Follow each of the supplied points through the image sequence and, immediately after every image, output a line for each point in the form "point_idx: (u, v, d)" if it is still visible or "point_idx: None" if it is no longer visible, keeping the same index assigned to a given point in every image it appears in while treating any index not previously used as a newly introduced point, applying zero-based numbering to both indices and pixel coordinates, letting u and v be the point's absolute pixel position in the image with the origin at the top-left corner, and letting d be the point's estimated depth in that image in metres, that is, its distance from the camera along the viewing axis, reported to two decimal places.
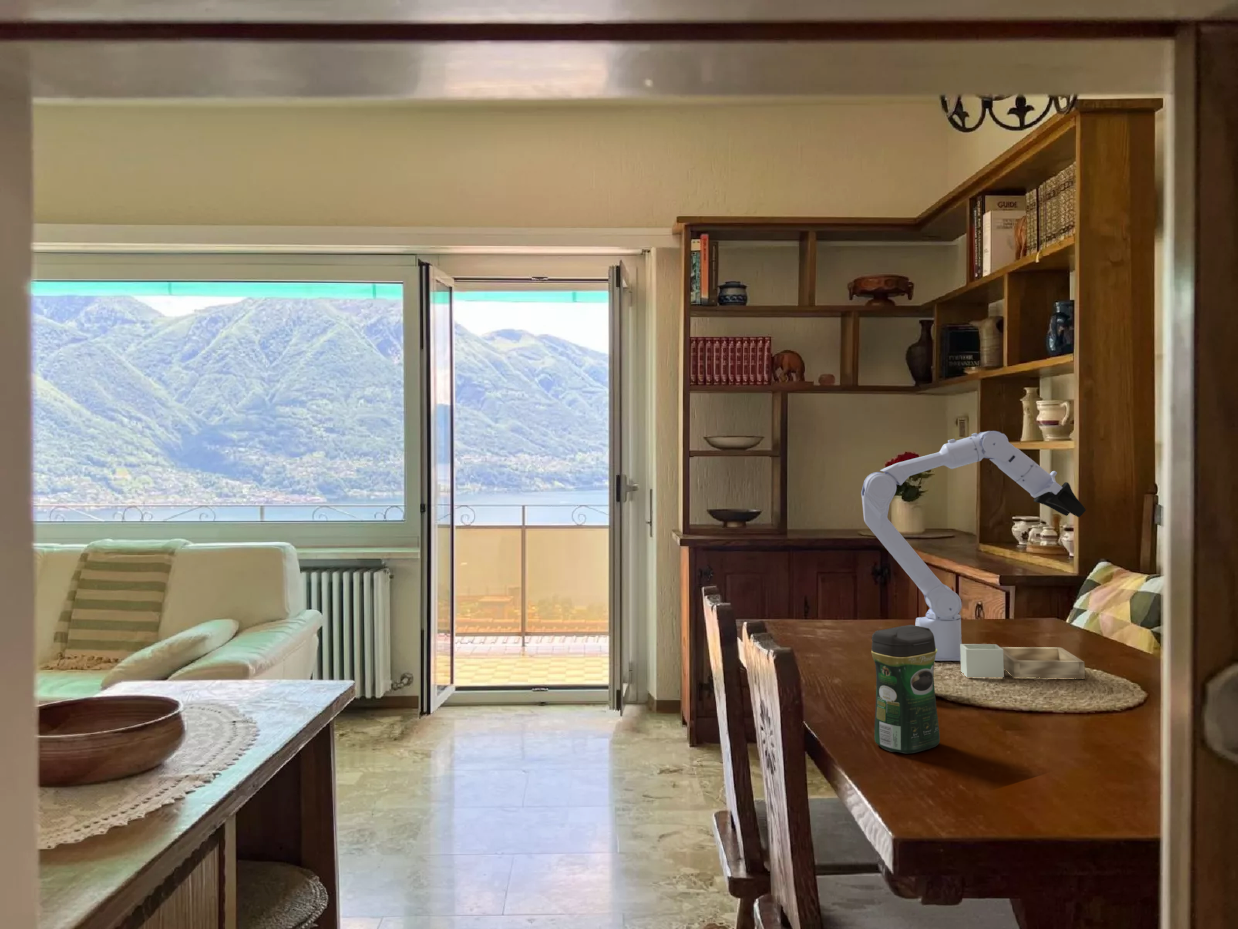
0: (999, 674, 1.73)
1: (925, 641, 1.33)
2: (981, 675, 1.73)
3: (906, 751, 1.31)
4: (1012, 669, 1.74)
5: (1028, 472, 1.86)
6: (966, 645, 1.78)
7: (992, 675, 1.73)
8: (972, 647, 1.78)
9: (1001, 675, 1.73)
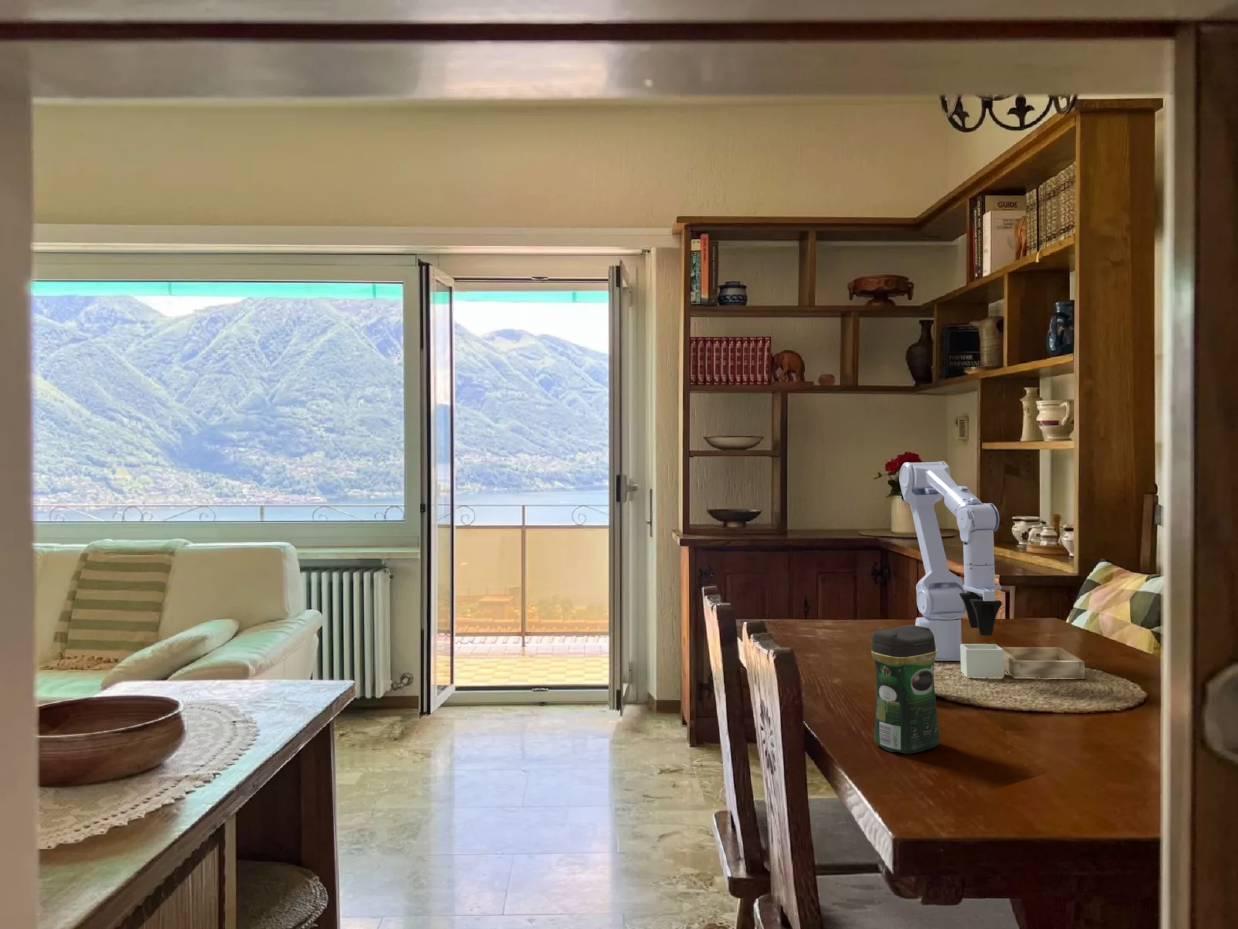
0: (999, 674, 1.73)
1: (925, 641, 1.33)
2: (981, 675, 1.73)
3: (906, 751, 1.31)
4: (1012, 669, 1.74)
5: (981, 566, 1.73)
6: (966, 645, 1.78)
7: (992, 675, 1.73)
8: (972, 647, 1.78)
9: (1001, 675, 1.73)
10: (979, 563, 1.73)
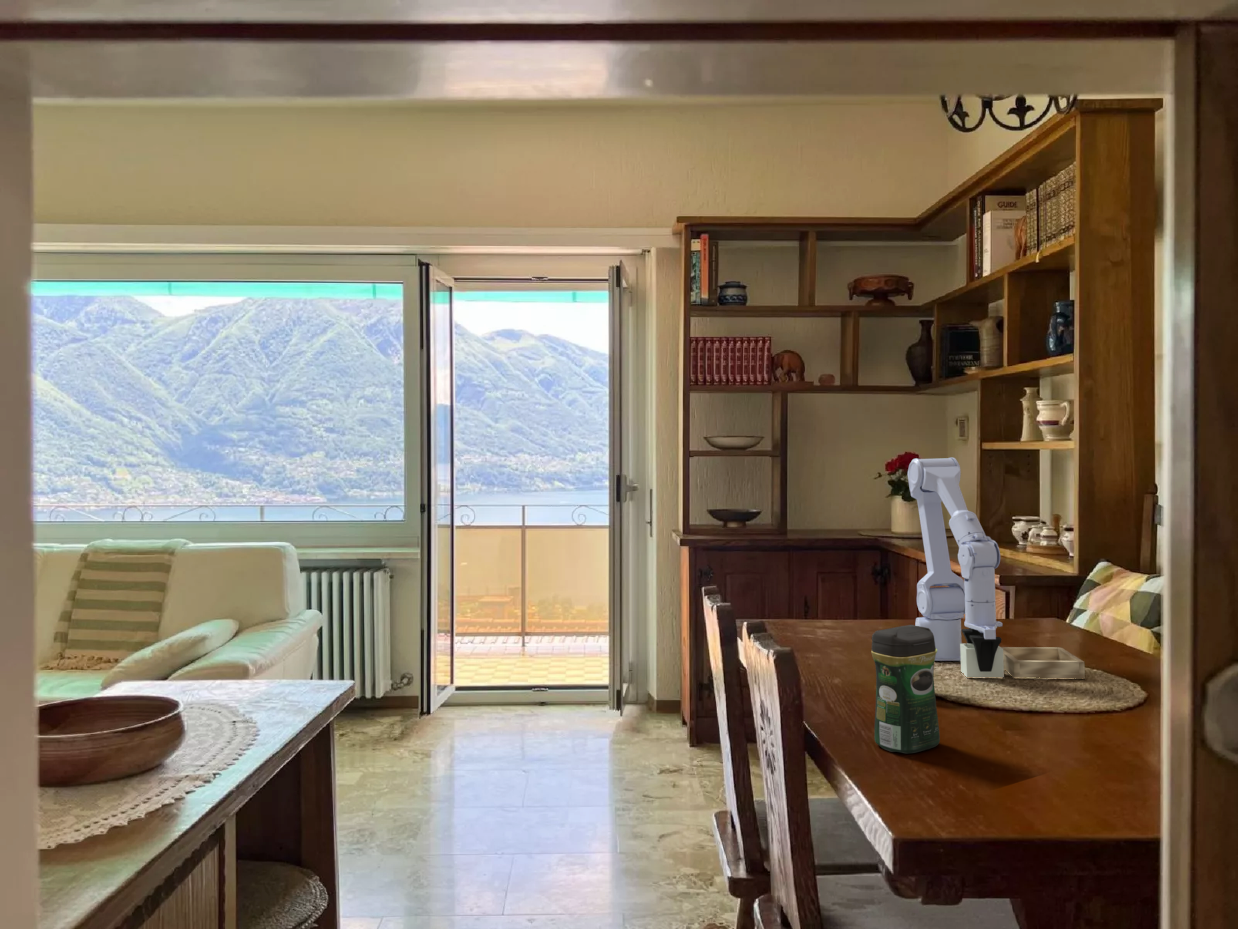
0: (999, 673, 1.73)
1: (925, 641, 1.33)
2: (981, 674, 1.73)
3: (906, 751, 1.31)
4: (1012, 669, 1.74)
5: (982, 603, 1.73)
6: (966, 644, 1.78)
7: (992, 674, 1.73)
8: (972, 646, 1.78)
9: (1001, 674, 1.73)
10: (980, 600, 1.73)
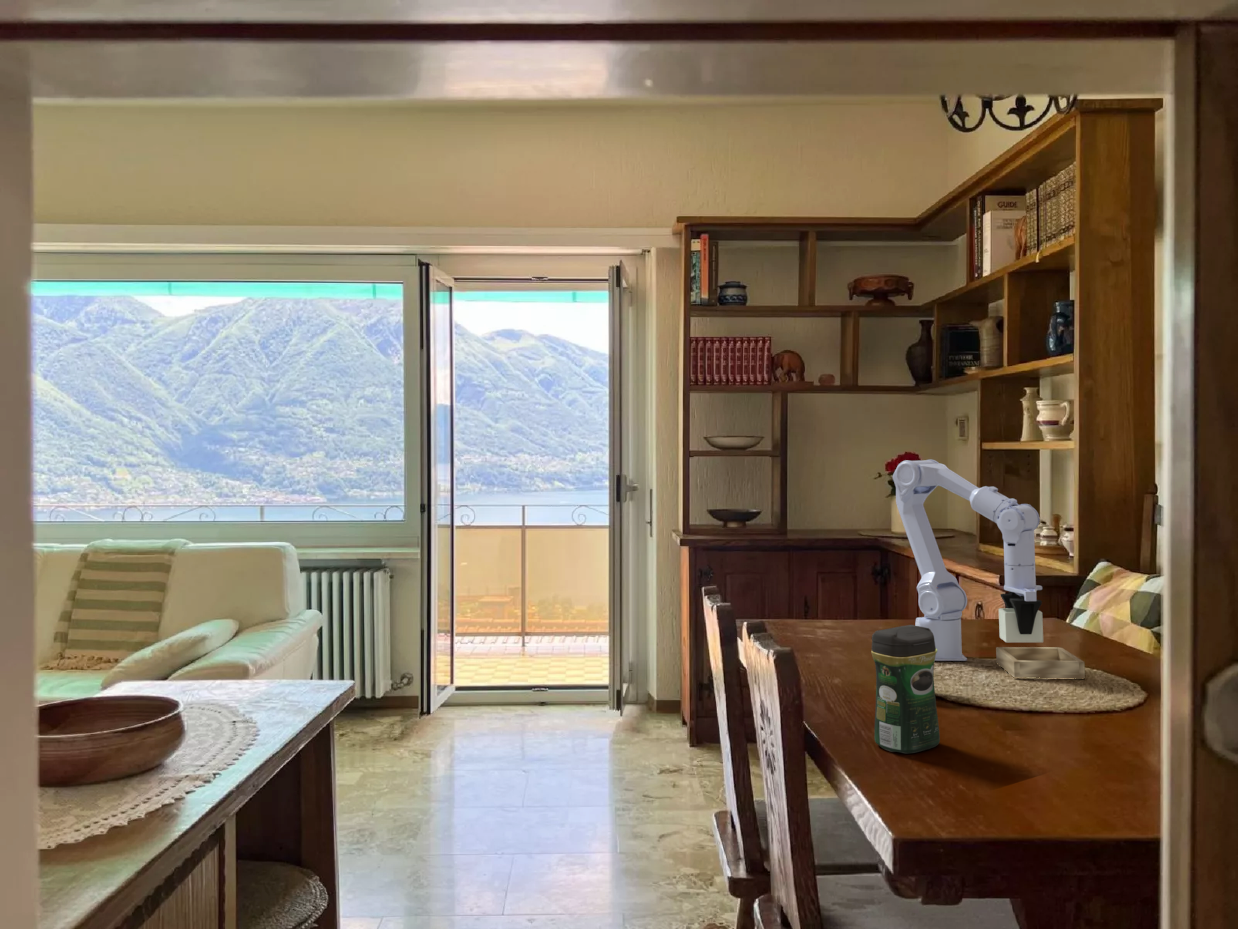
0: (1038, 637, 1.74)
1: (925, 641, 1.33)
2: (1020, 638, 1.75)
3: (906, 751, 1.31)
4: (1012, 669, 1.74)
5: (1022, 566, 1.74)
6: (1004, 609, 1.79)
7: (1031, 638, 1.74)
8: (1010, 611, 1.79)
9: (1040, 638, 1.74)
10: (1028, 563, 1.74)
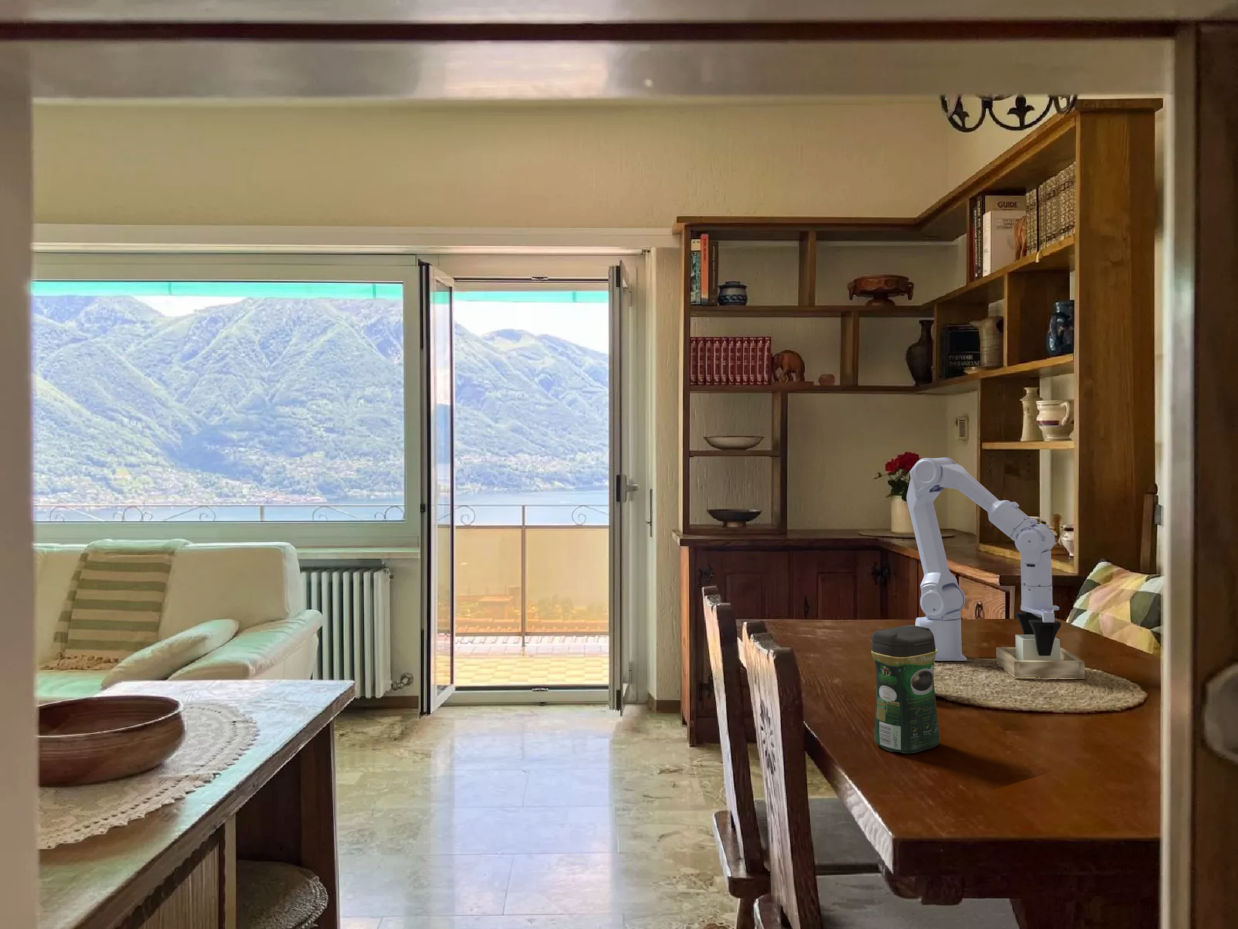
0: None
1: (925, 641, 1.33)
2: None
3: (906, 751, 1.31)
4: (1012, 669, 1.74)
5: (1040, 587, 1.75)
6: (1021, 636, 1.80)
7: None
8: (1027, 637, 1.80)
9: None
10: (1047, 584, 1.75)
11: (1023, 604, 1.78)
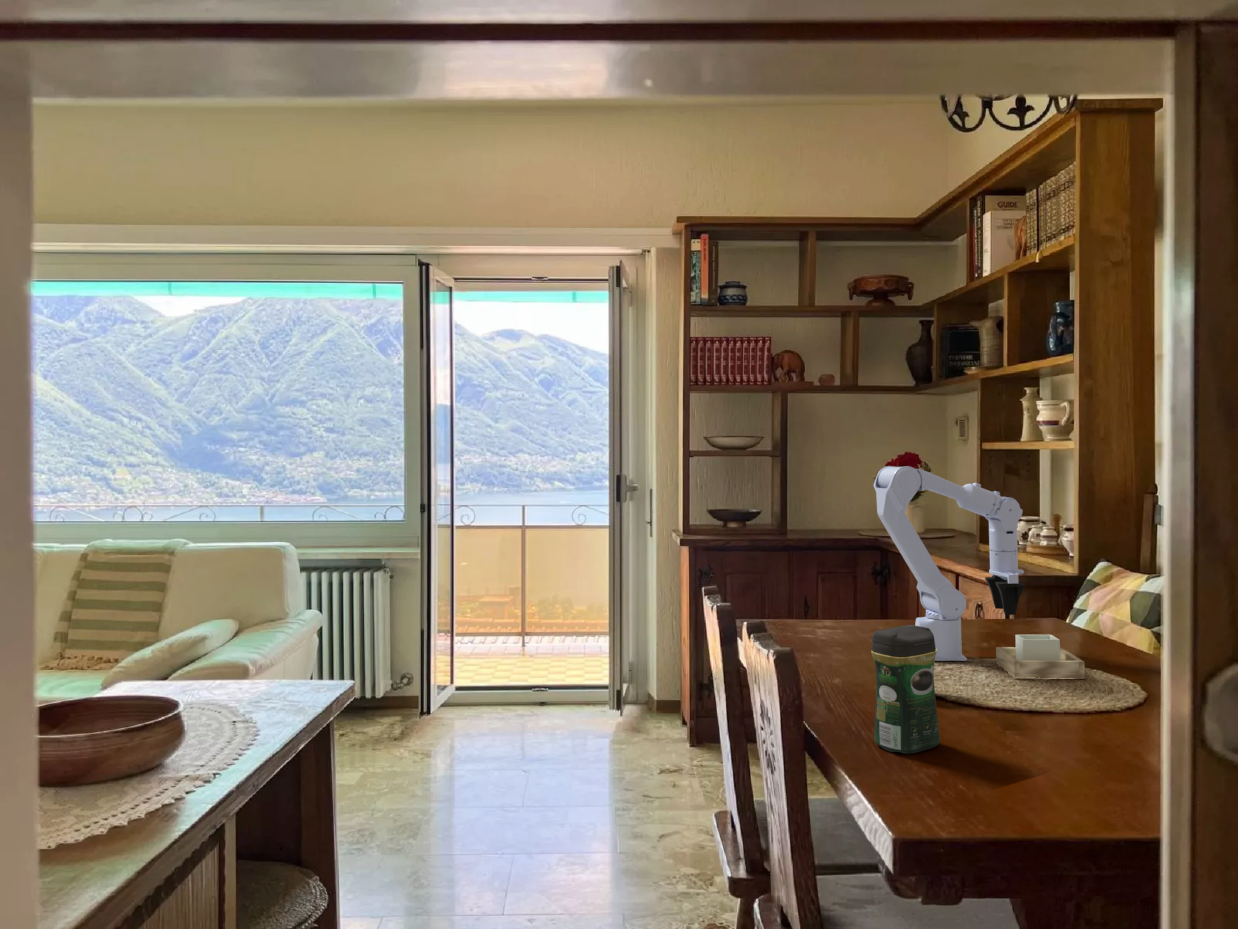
0: None
1: (925, 641, 1.33)
2: None
3: (906, 751, 1.31)
4: (1012, 669, 1.74)
5: (1006, 552, 1.91)
6: (1021, 636, 1.80)
7: None
8: (1027, 637, 1.80)
9: None
10: None
11: (991, 568, 1.94)
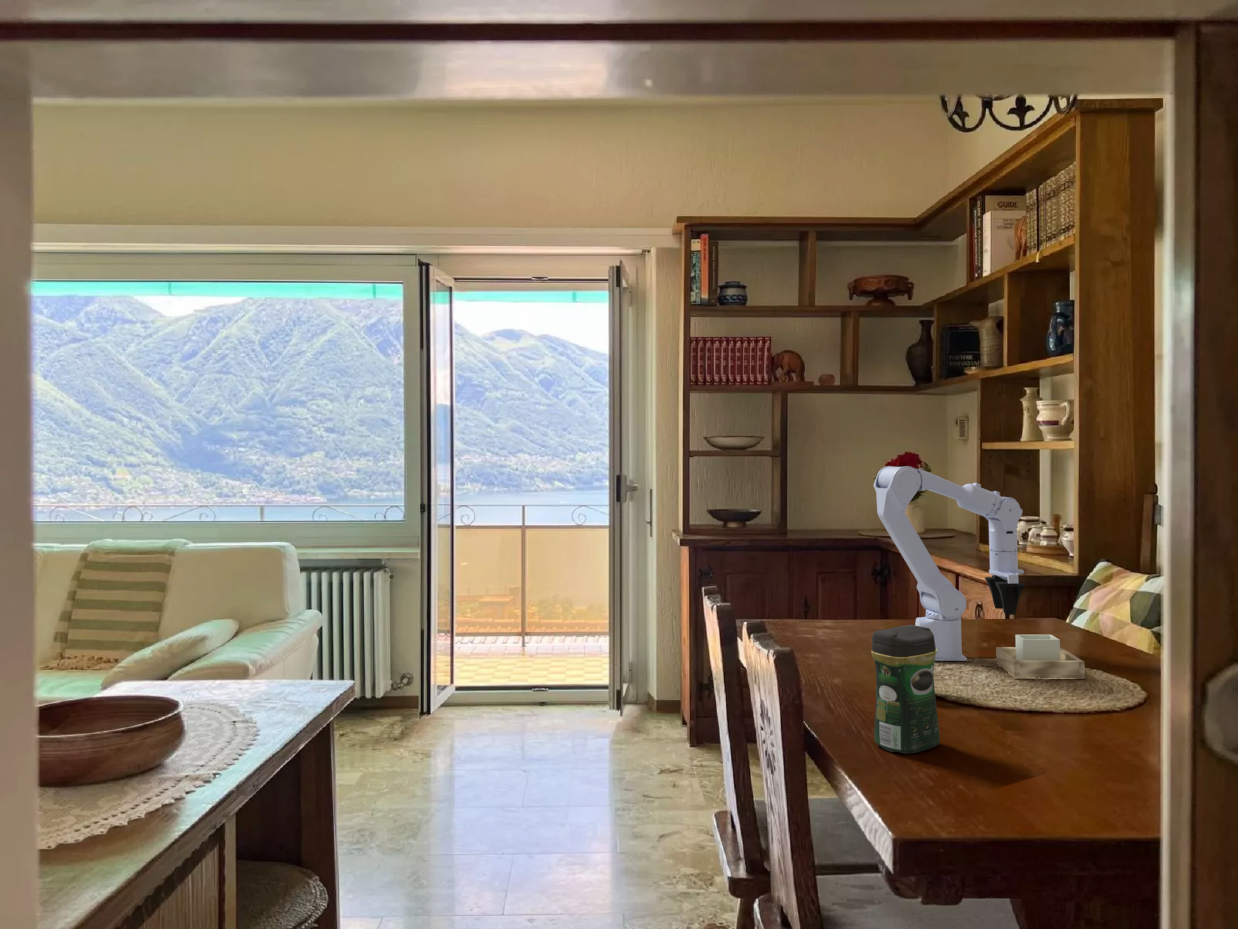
0: None
1: (925, 641, 1.33)
2: None
3: (906, 751, 1.31)
4: (1012, 669, 1.74)
5: (1006, 552, 1.91)
6: (1021, 636, 1.80)
7: None
8: (1027, 637, 1.80)
9: None
10: None
11: (991, 568, 1.94)
